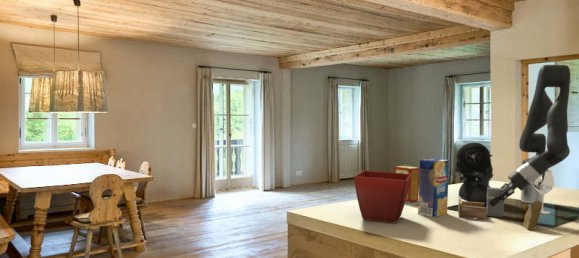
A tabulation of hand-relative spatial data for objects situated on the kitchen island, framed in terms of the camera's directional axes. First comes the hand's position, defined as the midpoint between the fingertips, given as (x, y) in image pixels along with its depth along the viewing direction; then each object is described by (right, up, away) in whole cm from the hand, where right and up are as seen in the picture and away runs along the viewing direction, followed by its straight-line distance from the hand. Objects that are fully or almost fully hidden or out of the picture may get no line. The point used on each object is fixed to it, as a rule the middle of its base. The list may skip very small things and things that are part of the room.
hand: (490, 203), depth 183 cm
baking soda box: (-27, -3, +29) cm, 40 cm away
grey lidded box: (+2, -5, 0) cm, 5 cm away
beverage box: (-24, -4, -1) cm, 24 cm away
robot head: (+8, -4, +35) cm, 36 cm away
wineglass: (+26, -5, +8) cm, 28 cm away
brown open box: (-9, -5, -2) cm, 10 cm away
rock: (+5, -6, -20) cm, 21 cm away
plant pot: (-47, -4, -12) cm, 49 cm away
